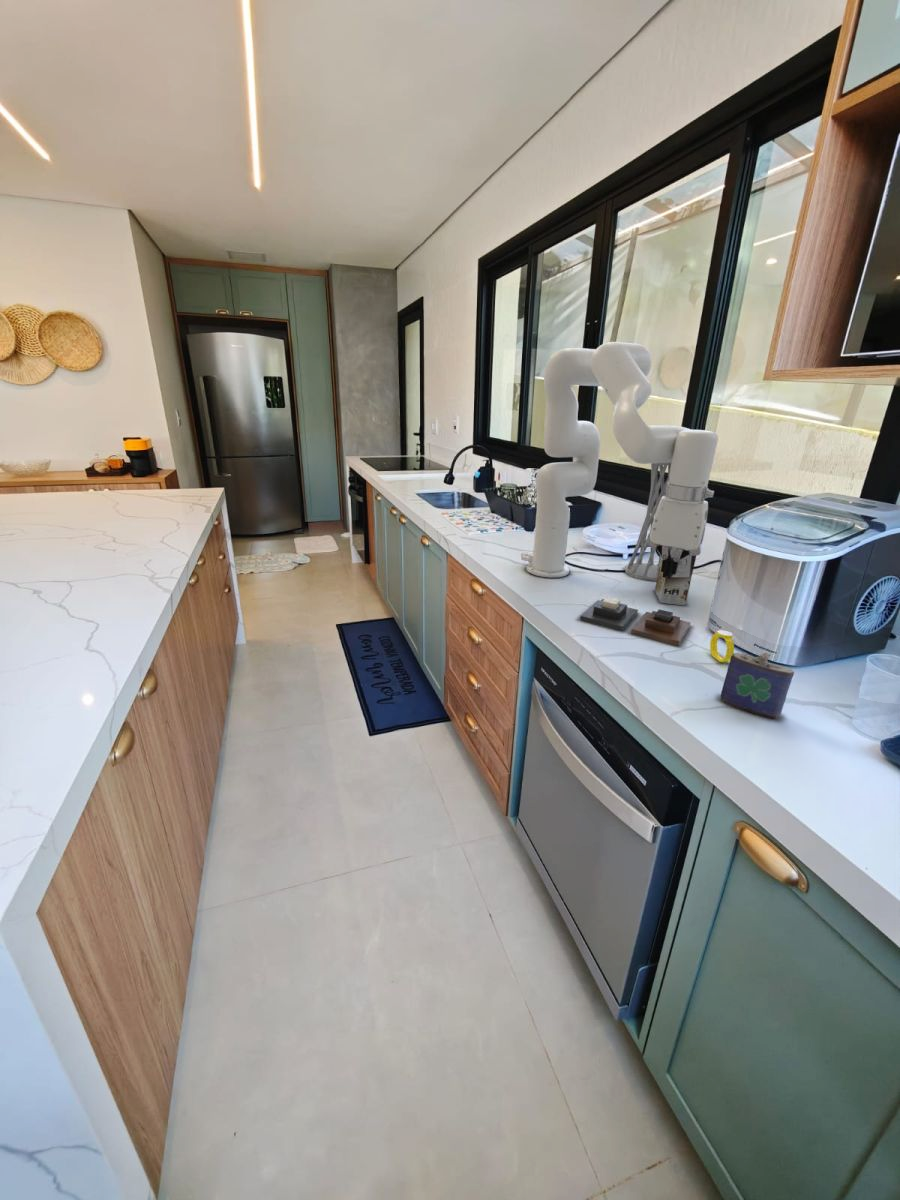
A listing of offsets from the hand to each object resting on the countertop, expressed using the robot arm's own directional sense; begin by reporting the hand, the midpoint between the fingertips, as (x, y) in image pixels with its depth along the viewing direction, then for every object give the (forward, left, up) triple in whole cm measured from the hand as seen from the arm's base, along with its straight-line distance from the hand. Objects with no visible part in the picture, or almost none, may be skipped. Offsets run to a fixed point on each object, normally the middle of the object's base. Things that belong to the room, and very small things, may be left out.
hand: (667, 576), depth 111 cm
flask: (+21, -24, -13) cm, 34 cm away
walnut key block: (+1, -1, -13) cm, 13 cm away
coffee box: (-2, +21, -13) cm, 25 cm away
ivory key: (-11, -1, -10) cm, 15 cm away
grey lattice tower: (-12, +38, -13) cm, 42 cm away
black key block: (-11, -1, -13) cm, 17 cm away
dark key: (+1, -1, -10) cm, 10 cm away
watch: (+14, -8, -13) cm, 21 cm away
